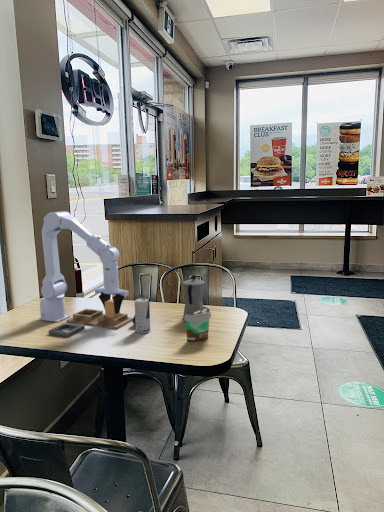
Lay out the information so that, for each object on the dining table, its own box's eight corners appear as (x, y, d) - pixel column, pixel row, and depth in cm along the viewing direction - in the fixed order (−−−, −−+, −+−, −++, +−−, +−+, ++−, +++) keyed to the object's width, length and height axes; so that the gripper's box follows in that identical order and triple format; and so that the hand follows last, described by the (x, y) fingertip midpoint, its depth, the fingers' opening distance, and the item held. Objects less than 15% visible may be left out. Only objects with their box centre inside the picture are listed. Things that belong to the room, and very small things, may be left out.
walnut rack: (66, 321, 154) (66, 315, 154) (85, 313, 165) (85, 307, 165) (117, 329, 145) (116, 322, 144) (134, 319, 156) (133, 313, 155)
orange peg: (105, 319, 151) (104, 301, 150) (111, 316, 155) (110, 299, 154) (114, 320, 150) (113, 302, 149) (119, 317, 153) (119, 300, 152)
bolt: (145, 319, 163) (141, 330, 148) (135, 313, 162) (129, 324, 148) (152, 307, 162) (148, 317, 147) (141, 301, 162) (137, 311, 147)
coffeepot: (186, 312, 165) (185, 271, 162) (208, 313, 163) (208, 272, 160) (177, 324, 150) (177, 279, 147) (201, 325, 148) (201, 280, 145)
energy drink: (152, 329, 144) (151, 298, 142) (146, 334, 139) (145, 302, 137) (139, 328, 146) (138, 297, 144) (133, 332, 141) (132, 301, 139)
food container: (200, 346, 128) (199, 317, 126) (184, 342, 131) (184, 314, 130) (217, 334, 138) (217, 307, 137) (202, 331, 142) (202, 305, 140)
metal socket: (48, 334, 141) (48, 330, 140) (65, 326, 149) (65, 322, 148) (68, 337, 137) (68, 333, 137) (84, 329, 145) (84, 325, 145)
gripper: (89, 279, 149) (91, 313, 151) (121, 282, 143) (122, 317, 145) (100, 275, 155) (102, 308, 158) (131, 278, 150) (132, 312, 152)
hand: (112, 312), depth 152 cm, fingers closed on orange peg, 4 cm apart
